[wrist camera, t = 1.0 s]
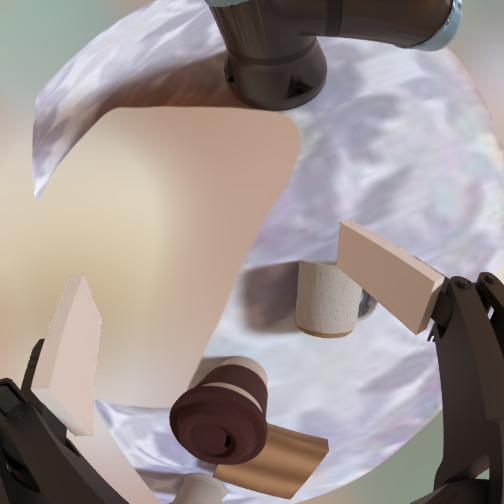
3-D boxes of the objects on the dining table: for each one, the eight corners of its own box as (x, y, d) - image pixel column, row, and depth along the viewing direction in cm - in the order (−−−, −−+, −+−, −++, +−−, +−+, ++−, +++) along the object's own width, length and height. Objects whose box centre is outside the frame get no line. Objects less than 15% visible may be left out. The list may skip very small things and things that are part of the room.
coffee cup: (194, 373, 37) (145, 427, 22) (240, 332, 35) (204, 380, 21) (243, 417, 35) (216, 485, 21) (292, 380, 34) (286, 448, 20)
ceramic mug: (293, 321, 34) (293, 340, 27) (298, 258, 34) (300, 259, 27) (371, 324, 33) (390, 342, 25) (378, 263, 33) (400, 265, 25)
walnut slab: (241, 414, 35) (237, 424, 32) (327, 439, 33) (328, 451, 30) (216, 466, 36) (212, 477, 33) (291, 488, 34) (290, 499, 31)
